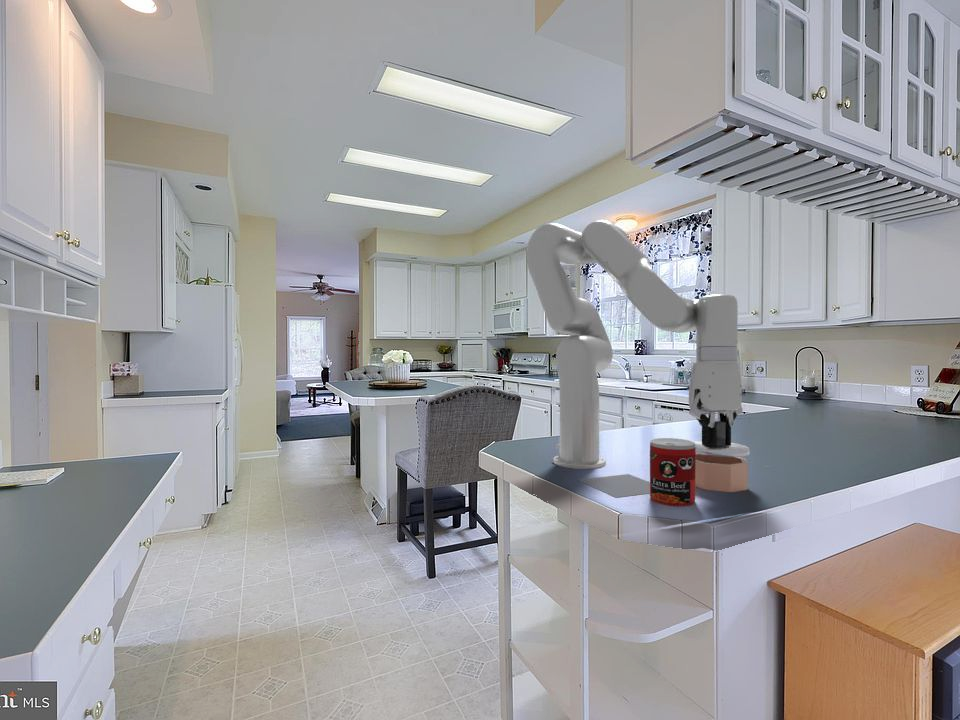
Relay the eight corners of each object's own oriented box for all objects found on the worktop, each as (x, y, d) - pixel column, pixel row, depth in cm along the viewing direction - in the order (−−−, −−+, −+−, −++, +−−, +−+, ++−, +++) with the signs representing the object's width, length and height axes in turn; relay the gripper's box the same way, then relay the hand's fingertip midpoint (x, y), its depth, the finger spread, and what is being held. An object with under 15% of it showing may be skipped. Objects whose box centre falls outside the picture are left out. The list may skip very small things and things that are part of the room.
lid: (673, 447, 98) (673, 419, 98) (714, 443, 102) (714, 416, 102) (719, 459, 87) (719, 427, 87) (763, 454, 92) (763, 423, 92)
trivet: (577, 481, 98) (577, 479, 98) (628, 475, 103) (628, 474, 103) (616, 499, 86) (615, 497, 86) (671, 492, 91) (671, 490, 91)
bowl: (675, 481, 98) (675, 455, 98) (714, 476, 102) (714, 451, 102) (717, 495, 88) (718, 466, 88) (759, 489, 92) (759, 462, 92)
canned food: (645, 503, 84) (645, 443, 84) (655, 492, 90) (655, 436, 90) (691, 511, 79) (691, 447, 79) (698, 499, 86) (698, 440, 86)
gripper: (730, 355, 101) (730, 439, 101) (671, 356, 95) (671, 445, 96) (762, 355, 94) (762, 445, 94) (700, 356, 88) (699, 452, 89)
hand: (716, 444), depth 95 cm, fingers closed on lid, 3 cm apart
